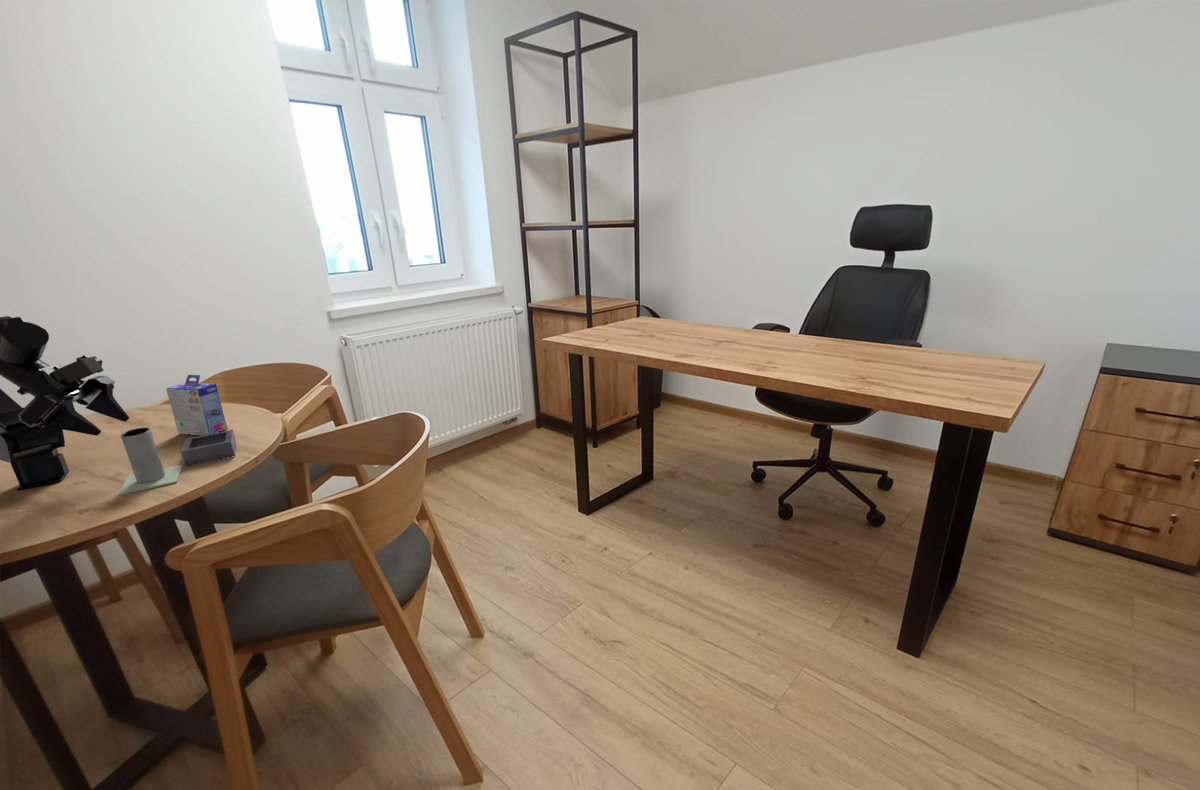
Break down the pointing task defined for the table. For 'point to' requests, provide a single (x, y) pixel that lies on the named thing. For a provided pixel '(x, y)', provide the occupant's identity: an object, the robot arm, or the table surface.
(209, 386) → the ink cartridge box
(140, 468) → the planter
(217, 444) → the collar
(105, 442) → the table surface
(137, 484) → the mat
